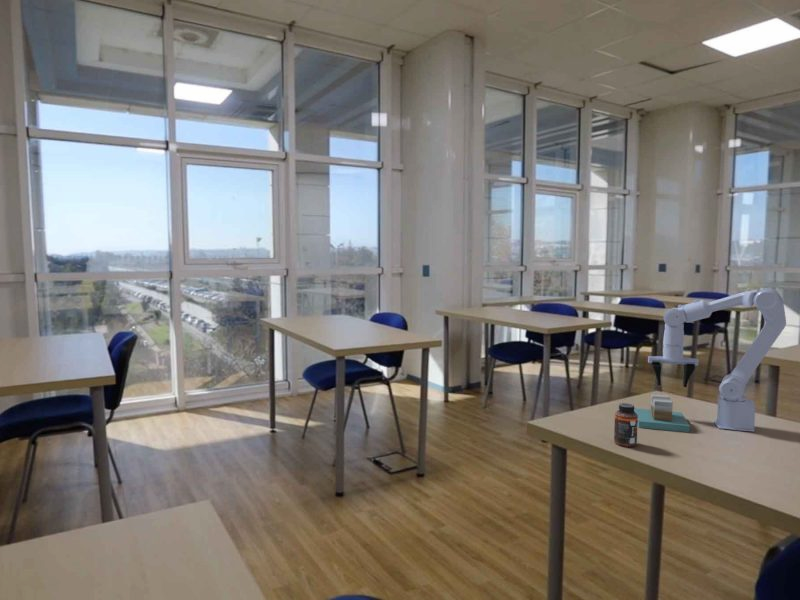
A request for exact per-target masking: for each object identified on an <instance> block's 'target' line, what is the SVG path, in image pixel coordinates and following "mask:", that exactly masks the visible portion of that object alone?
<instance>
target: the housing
mask: <svg viewBox="0 0 800 600" xmlns="http://www.w3.org/2000/svg"><path fill="white" fill-rule="evenodd" d="M650 410H651V414H652V417H653V419H654V420H661V421H672V412H673V401H672V399H671V397H670V395H664V394H653V393H652V394H651V395H650Z"/></svg>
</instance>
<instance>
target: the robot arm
mask: <svg viewBox="0 0 800 600" xmlns="http://www.w3.org/2000/svg"><path fill="white" fill-rule="evenodd" d="M753 305H754V307H756V309H757V310H758V311H759V312H760V313H761V314H762V317H763V319H764V322H765V324H764V325H763V327H762V328H761V329H760V331H759V332H758V334H757V335H756V337H755V338H754V340H753V341H752V343H751V344H750V345H749V347H748V349H747V350H746V351H745V353H744V354H743V355H742V357H741V358H740V361H739V362H738V363H737V364H736V366H735V367H734V369H733V370H732V371H731V373H729V374H727V375H725V376H724V377H723V378H722V380H721V383H720V384H719V386H718V391H719V394H718V395H717V396H718V397H717V413H716V414H717V416H716V419H712V421H713V423H714V424H715V425H716V426H717V428H718V429H721V430H723V429H724V430H729V431H730V430H732V431H742V432H743V431H744V432H755V431H756V430H755V422H756V421H755V420H756V419H755V418H756V417H755V416H756V406H755V402H754V400H752V399H747V397H746V396H745V395H744V392H745V389H746V387H747V386H746V385H747V383H748V382H749V380H750V378H751V376H752V375H753V373H754V372H755V370H756V369H757V368H758V367H759V364H761V362H762V360H763V359H764V357H766V355H767V354H768V352H769V351H770V349H771V347H773V345H774V344H775V342H776V341H777V339H778V337H779V336H780V335H781V334H782V331H784V329H785V327H786V326H787V320H786V319H787V318H786V312H785V302H784V299H783V298H782V295H781V294H780V293H779V292H778V290H776V289H774V288H770V287H765V288H761V289H759V290H758V289H752V290H747V291H743V292H739V293H736V294H732V295H728V296H726V297H722V298H719V299H716V300H713V301H707V300H704V299H699V298H698V299H695V300H693V302H689V303H687V304H683V305H682V304H678V305H677V307H672V308H670V309H667V310H666V311H665V313H664V314H663V321H664V323H665V324H664V331H663V350H662V351H663V353H662V355H663V356H661V355H659V356H658V355H656V356H655V355H654V356H652V355H649V356H647V362H648V364H651V366H652V369H653V371H654V373H655V377H656V378H655V379H656V384H657V386H661V382H662V381H661V375H662V374H661V373H662V372H661V371H662V366H661V365H662V364H670V365H683V380H682V381H683V382H682V386H683V388H687V386H688V383H689V381H690V378H691V376H692V374H693V373H694V371H695V369H696V367H698V366H699V364H700V363H699V361H700V360H699V359H698V358H691V357H684V341H685V340H684V339H685V338H684V337H685V330H684V327H685V326H684V325H685V324H684V323H688V324H689V323H692V322H696V321H700V320H703V319H708V318H710V317H711V315H712V313H713V312H717V311H722V310H725V309H730V308H735V307H738V306H743V307H748V308H749V307H750V308H752V307H753Z"/></svg>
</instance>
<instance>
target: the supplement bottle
mask: <svg viewBox="0 0 800 600" xmlns="http://www.w3.org/2000/svg"><path fill="white" fill-rule="evenodd" d="M618 409H619V410H617V411H615V412H614V427H613V428H614V432H613V433H614V435H613V439H614V443H615V444H617V445H618V446H620V447H627V448H633V447H636V446H637V444H638V415H637V414H636V413H635V411H634V410H635V405H634V404H632V403H627V402H625V403H624V402H623V403H619V404H618Z"/></svg>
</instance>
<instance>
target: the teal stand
mask: <svg viewBox="0 0 800 600" xmlns="http://www.w3.org/2000/svg"><path fill="white" fill-rule="evenodd" d="M634 411H635V413H636V414H637V415H638V425H637V428H639V427H640V429H649V430H659V429H660V430H661V431H669V432H670V431H672V432H679V433H680V432H681V433H682V432H683V433H690V430H691V425H690V424H689V422H688V420H687V419H686V418H685V416H684V414H683V413H682V412H681V411H672V421H661V420H654V419H653V417H652V414H651V409H645V408H635V407H634Z"/></svg>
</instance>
